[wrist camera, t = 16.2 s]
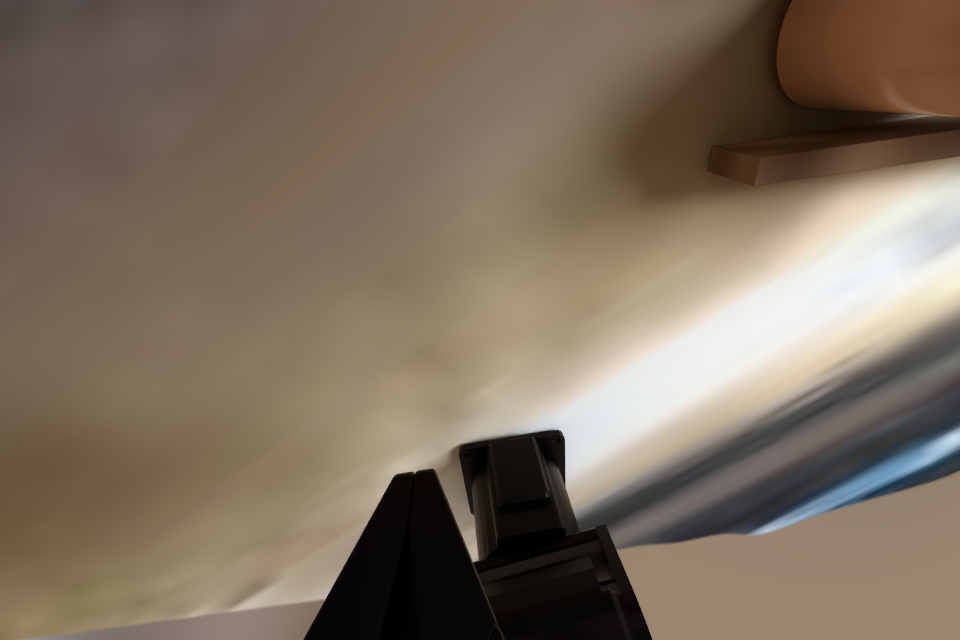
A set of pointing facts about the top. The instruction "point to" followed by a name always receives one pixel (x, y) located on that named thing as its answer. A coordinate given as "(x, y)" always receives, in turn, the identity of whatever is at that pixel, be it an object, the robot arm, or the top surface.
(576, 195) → the top surface
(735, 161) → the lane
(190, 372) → the top surface
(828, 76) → the terracotta jar
